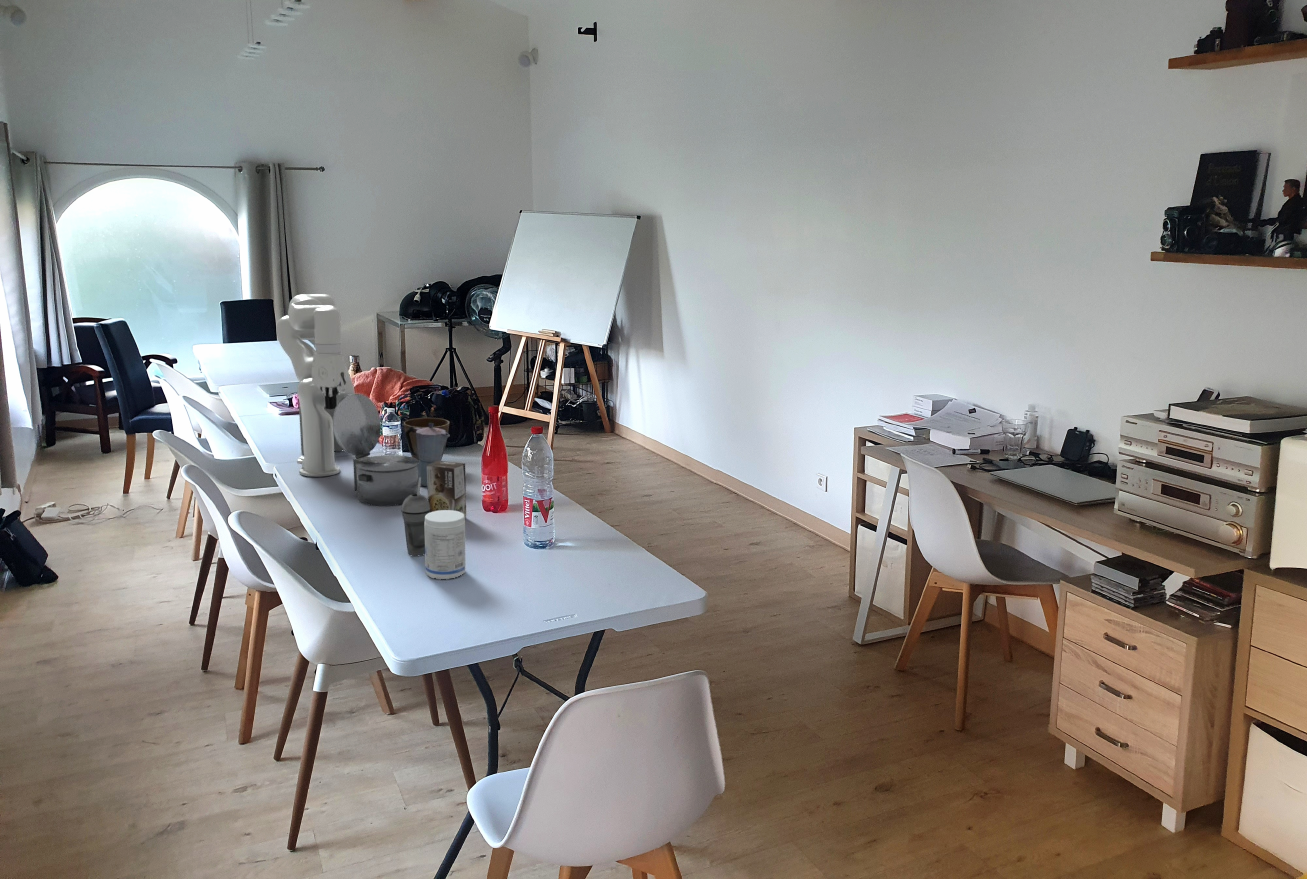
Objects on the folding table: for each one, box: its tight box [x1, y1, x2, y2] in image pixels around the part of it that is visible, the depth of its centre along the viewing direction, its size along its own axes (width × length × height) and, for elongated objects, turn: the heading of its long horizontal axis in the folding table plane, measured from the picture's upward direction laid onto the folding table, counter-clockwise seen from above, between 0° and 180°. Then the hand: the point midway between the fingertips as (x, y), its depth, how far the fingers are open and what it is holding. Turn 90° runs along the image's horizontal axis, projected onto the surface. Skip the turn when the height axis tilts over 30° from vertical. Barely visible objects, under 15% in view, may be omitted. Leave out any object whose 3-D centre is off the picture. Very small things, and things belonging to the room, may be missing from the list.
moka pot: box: [405, 423, 450, 487], centre depth 305 cm, size 10×15×20 cm, turn 78°
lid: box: [333, 393, 382, 459], centre depth 291 cm, size 20×19×3 cm
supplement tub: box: [424, 510, 466, 580], centre depth 229 cm, size 10×10×15 cm
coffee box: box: [426, 460, 467, 519], centre depth 270 cm, size 9×6×16 cm
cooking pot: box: [352, 454, 419, 507], centre depth 290 cm, size 20×22×11 cm
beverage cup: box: [400, 477, 431, 557], centre depth 242 cm, size 7×7×20 cm
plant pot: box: [403, 417, 450, 461], centre depth 324 cm, size 15×15×16 cm
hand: (331, 408), depth 294 cm, fingers closed
